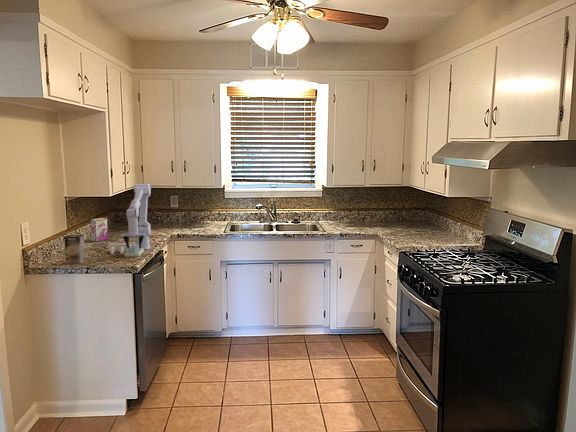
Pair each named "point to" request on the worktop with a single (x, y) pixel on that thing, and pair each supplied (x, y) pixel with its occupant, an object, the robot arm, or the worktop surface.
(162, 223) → the worktop surface
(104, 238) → the candy bar box
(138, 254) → the tray
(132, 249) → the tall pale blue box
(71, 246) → the coffee box
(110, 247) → the stand
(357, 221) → the worktop surface
